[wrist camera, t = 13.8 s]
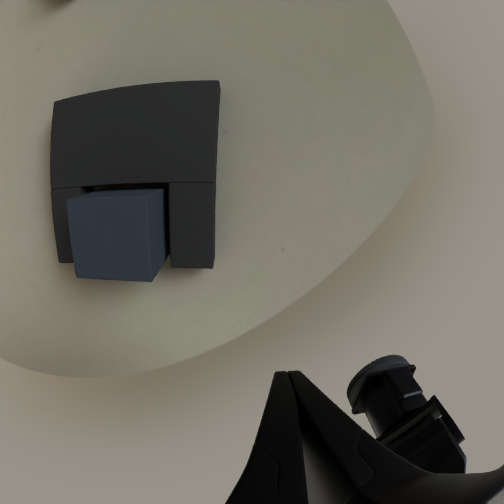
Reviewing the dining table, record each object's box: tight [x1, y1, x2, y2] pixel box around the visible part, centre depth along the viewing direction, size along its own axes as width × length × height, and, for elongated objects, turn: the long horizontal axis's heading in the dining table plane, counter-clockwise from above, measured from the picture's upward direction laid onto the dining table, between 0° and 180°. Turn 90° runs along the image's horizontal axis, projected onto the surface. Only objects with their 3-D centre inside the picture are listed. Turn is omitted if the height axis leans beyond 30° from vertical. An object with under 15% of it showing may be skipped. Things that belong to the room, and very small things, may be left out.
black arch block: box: [50, 80, 220, 269], centre depth 16 cm, size 12×12×2 cm
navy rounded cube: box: [67, 187, 170, 282], centre depth 16 cm, size 5×5×5 cm
